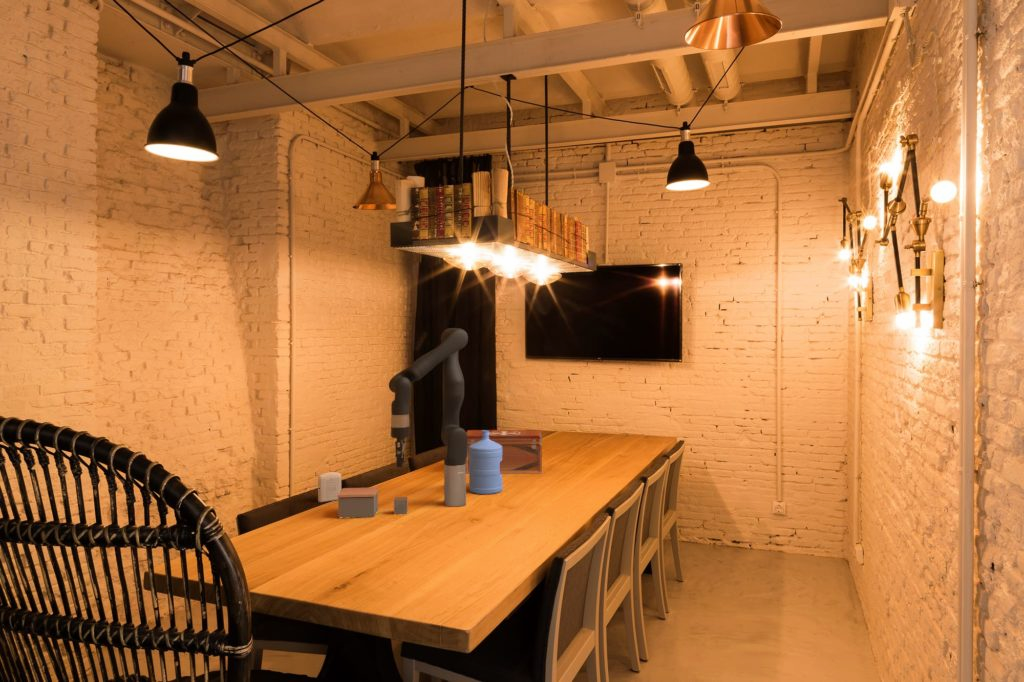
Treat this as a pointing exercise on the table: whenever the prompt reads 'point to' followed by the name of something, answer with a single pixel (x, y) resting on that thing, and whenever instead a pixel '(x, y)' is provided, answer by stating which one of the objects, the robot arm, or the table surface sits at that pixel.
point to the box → (357, 506)
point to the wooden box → (514, 450)
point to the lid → (358, 492)
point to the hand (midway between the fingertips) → (400, 465)
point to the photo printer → (329, 486)
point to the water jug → (485, 466)
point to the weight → (400, 505)
